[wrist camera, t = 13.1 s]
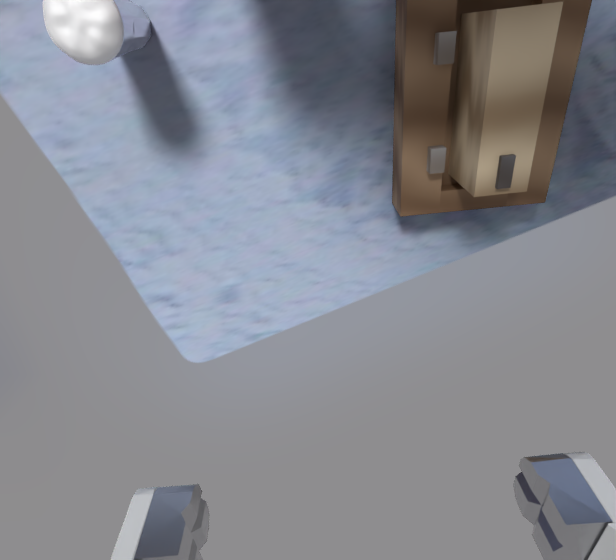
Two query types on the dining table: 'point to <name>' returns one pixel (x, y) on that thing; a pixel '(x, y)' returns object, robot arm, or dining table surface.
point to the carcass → (441, 94)
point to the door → (500, 96)
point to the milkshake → (96, 28)
